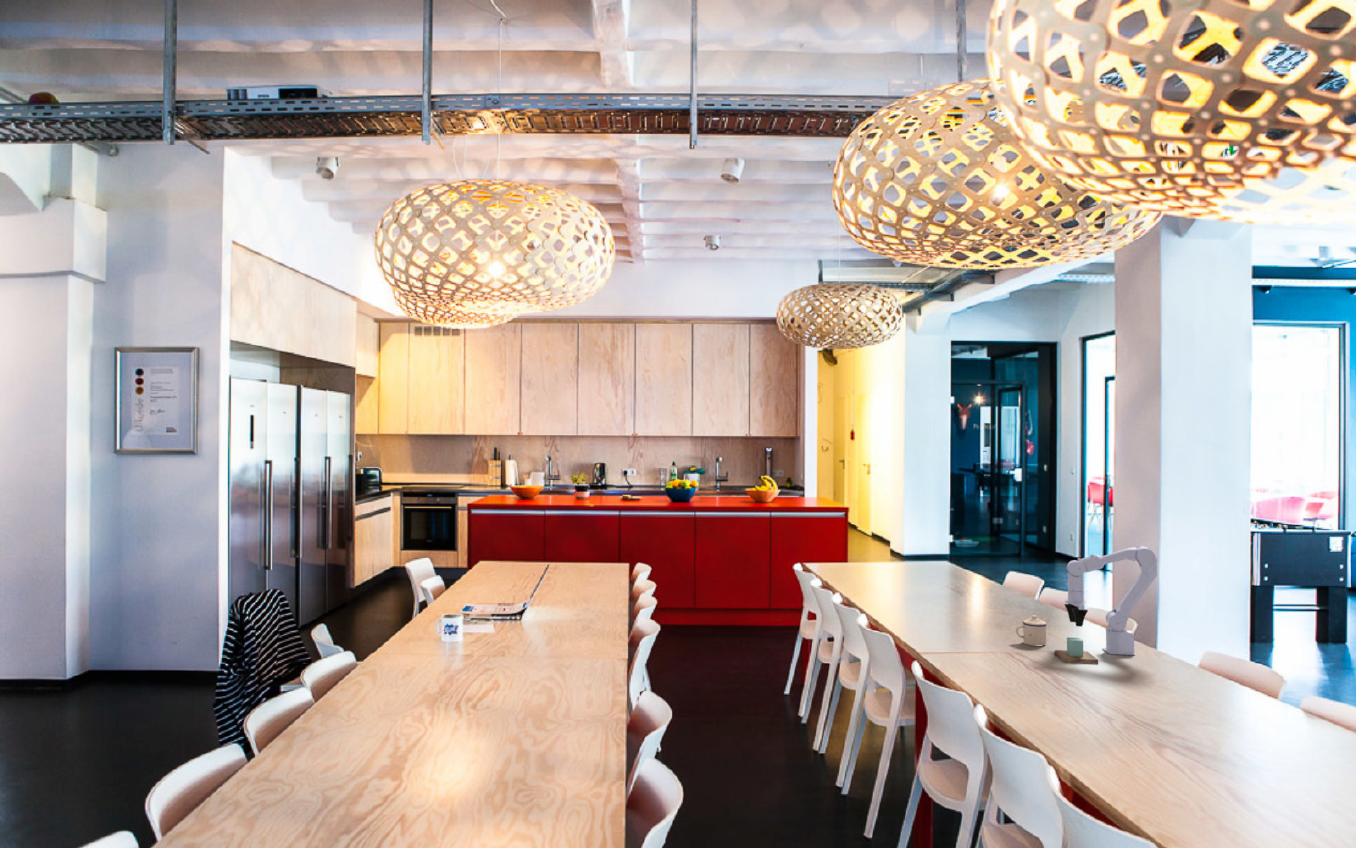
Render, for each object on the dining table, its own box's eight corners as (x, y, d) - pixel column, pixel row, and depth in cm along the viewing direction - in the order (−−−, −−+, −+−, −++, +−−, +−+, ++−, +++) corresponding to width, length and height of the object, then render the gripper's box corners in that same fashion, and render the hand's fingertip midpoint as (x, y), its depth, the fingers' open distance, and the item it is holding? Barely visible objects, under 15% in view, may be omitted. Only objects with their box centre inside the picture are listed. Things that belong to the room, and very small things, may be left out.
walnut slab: (1087, 655, 307) (1087, 651, 307) (1098, 663, 296) (1098, 659, 296) (1054, 653, 309) (1054, 650, 309) (1064, 662, 298) (1064, 658, 298)
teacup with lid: (1043, 641, 329) (1042, 613, 329) (1049, 647, 320) (1049, 618, 320) (1012, 640, 330) (1012, 612, 331) (1019, 646, 321) (1018, 617, 322)
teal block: (1079, 653, 304) (1079, 638, 305) (1083, 656, 300) (1083, 640, 300) (1067, 653, 305) (1066, 637, 305) (1070, 656, 301) (1070, 640, 301)
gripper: (1059, 587, 326) (1060, 619, 325) (1070, 593, 311) (1071, 627, 311) (1077, 587, 325) (1078, 620, 324) (1089, 594, 310) (1090, 628, 310)
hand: (1076, 624), depth 318 cm, fingers open, 7 cm apart
